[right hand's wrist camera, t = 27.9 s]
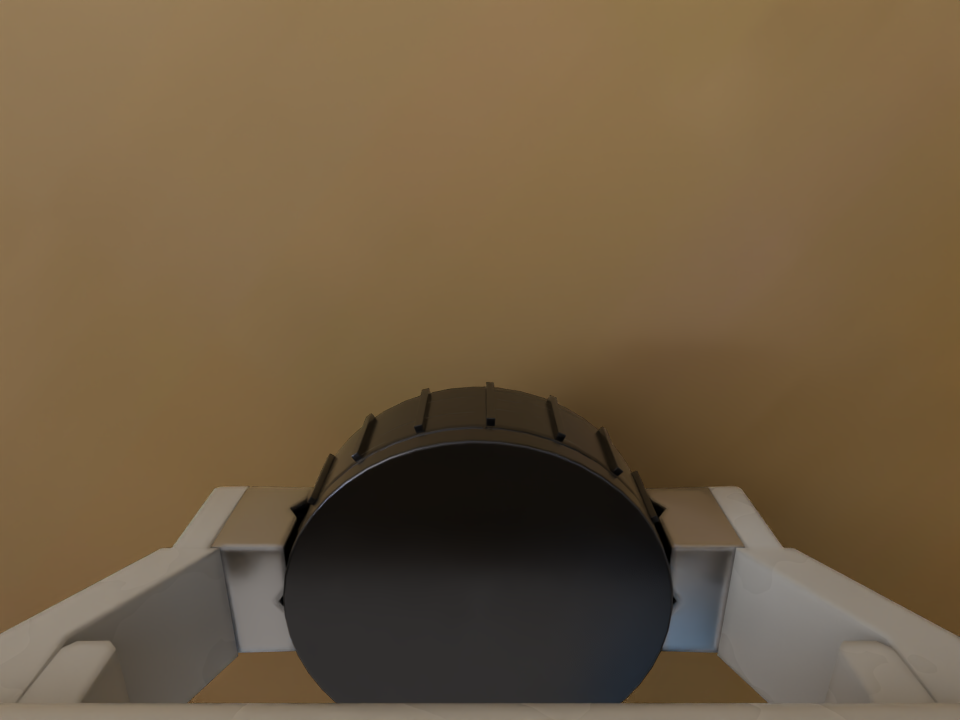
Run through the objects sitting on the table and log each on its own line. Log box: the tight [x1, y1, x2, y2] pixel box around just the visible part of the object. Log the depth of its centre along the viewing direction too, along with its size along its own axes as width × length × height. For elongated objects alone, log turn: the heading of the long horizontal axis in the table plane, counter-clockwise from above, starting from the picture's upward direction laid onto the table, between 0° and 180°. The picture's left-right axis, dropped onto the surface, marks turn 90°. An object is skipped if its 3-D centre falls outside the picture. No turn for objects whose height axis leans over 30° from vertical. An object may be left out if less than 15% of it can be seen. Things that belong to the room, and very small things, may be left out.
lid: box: [283, 382, 673, 703], centre depth 9 cm, size 5×5×2 cm
